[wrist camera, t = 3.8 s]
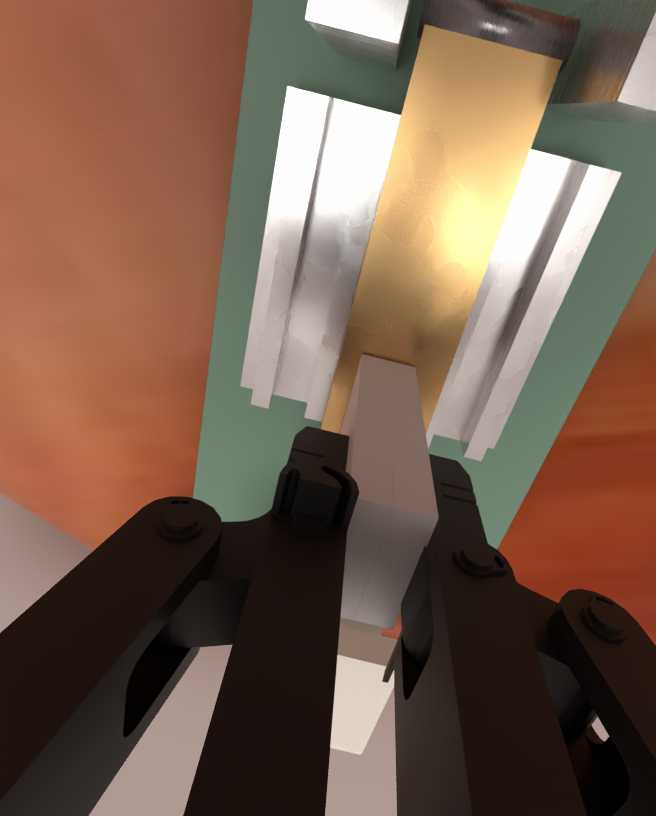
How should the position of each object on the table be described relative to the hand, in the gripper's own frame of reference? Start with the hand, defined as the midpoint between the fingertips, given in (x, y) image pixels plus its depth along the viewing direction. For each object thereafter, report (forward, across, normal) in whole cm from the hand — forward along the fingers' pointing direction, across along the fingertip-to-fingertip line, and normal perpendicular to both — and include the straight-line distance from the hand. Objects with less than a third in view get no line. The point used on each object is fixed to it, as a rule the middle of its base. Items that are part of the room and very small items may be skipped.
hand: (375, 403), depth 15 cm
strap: (+1, 0, +2) cm, 2 cm away
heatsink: (+4, 0, +4) cm, 6 cm away
